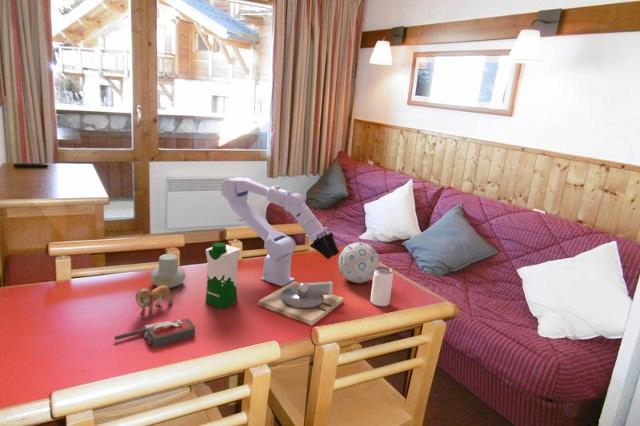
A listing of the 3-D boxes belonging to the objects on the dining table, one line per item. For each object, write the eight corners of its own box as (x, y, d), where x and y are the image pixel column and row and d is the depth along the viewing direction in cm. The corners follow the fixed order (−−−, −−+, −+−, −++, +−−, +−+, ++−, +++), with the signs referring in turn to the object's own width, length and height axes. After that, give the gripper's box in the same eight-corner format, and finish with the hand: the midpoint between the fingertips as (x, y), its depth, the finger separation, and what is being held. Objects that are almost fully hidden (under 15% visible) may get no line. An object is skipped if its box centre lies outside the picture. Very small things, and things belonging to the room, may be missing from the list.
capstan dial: (287, 310, 137) (288, 295, 135) (275, 291, 149) (277, 276, 148) (338, 306, 143) (340, 291, 141) (323, 287, 155) (324, 273, 154)
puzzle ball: (329, 281, 165) (333, 242, 161) (349, 269, 178) (353, 234, 174) (365, 293, 158) (370, 253, 154) (383, 281, 170) (388, 244, 166)
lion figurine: (146, 323, 126) (146, 293, 123) (130, 318, 127) (129, 289, 125) (177, 301, 139) (177, 275, 137) (162, 298, 141) (162, 271, 138)
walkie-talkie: (187, 322, 129) (113, 340, 116) (187, 308, 128) (112, 325, 115) (200, 336, 122) (123, 357, 110) (200, 321, 121) (122, 341, 109)
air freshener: (187, 280, 155) (188, 253, 152) (181, 291, 147) (181, 262, 144) (155, 278, 154) (155, 251, 151) (147, 288, 146) (147, 260, 143)
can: (388, 308, 148) (393, 275, 145) (369, 305, 149) (373, 271, 146) (389, 300, 154) (394, 268, 151) (371, 297, 155) (375, 265, 152)
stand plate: (258, 305, 142) (258, 299, 142) (293, 285, 159) (293, 280, 159) (311, 325, 133) (312, 320, 132) (342, 301, 150) (343, 297, 149)
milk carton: (201, 303, 140) (202, 243, 135) (220, 293, 148) (222, 236, 142) (223, 311, 136) (225, 249, 131) (241, 301, 144) (244, 242, 138)
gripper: (311, 217, 143) (336, 251, 141) (324, 215, 157) (348, 246, 155) (295, 230, 145) (320, 264, 143) (310, 227, 159) (332, 257, 157)
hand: (333, 255), depth 149 cm, fingers open, 7 cm apart
